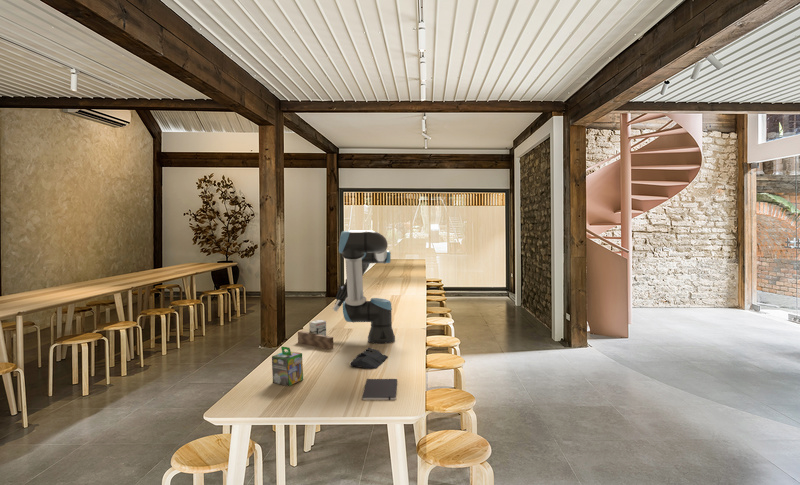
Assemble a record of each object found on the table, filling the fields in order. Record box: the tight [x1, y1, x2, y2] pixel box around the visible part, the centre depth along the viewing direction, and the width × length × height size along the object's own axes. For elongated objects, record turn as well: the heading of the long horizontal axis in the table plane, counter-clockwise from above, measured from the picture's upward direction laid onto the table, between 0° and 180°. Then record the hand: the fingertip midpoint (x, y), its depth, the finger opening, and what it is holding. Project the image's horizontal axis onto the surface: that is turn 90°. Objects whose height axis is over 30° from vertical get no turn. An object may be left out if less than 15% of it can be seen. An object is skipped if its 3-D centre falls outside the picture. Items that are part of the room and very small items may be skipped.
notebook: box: [361, 378, 398, 401], centre depth 190 cm, size 13×2×21 cm
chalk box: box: [271, 346, 304, 387], centre depth 201 cm, size 9×9×15 cm
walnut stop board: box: [297, 330, 334, 350], centre depth 260 cm, size 25×2×6 cm, turn 53°
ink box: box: [308, 319, 327, 336], centre depth 266 cm, size 8×5×12 cm, turn 142°
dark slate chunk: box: [349, 347, 389, 370], centre depth 229 cm, size 15×22×5 cm
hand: (334, 310), depth 279 cm, fingers closed
